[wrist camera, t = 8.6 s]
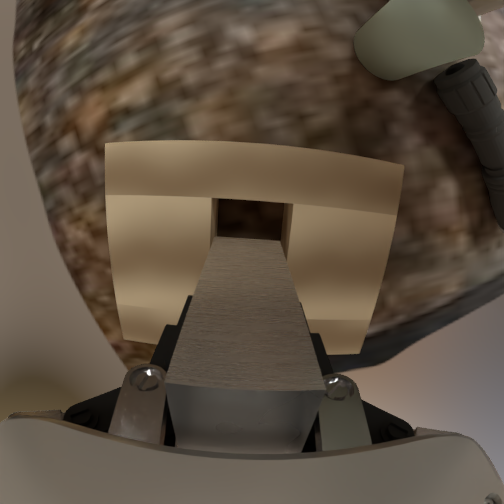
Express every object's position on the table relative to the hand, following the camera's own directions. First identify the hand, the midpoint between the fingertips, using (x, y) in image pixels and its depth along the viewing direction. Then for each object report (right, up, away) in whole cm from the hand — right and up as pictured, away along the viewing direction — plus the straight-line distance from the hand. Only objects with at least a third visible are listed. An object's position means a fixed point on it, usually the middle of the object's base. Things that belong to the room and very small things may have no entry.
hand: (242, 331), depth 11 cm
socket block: (0, +4, +10) cm, 10 cm away
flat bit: (0, +1, +3) cm, 3 cm away
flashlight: (+21, +13, +7) cm, 25 cm away
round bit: (+10, +18, +4) cm, 21 cm away
